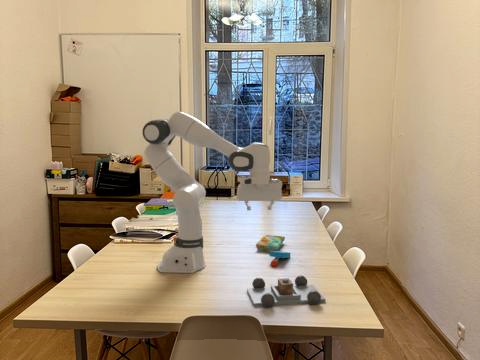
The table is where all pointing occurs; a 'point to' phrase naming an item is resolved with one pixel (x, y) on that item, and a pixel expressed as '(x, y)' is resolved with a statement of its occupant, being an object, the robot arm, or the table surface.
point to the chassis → (272, 296)
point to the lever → (278, 256)
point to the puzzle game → (270, 243)
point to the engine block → (285, 286)
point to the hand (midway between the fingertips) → (259, 209)
